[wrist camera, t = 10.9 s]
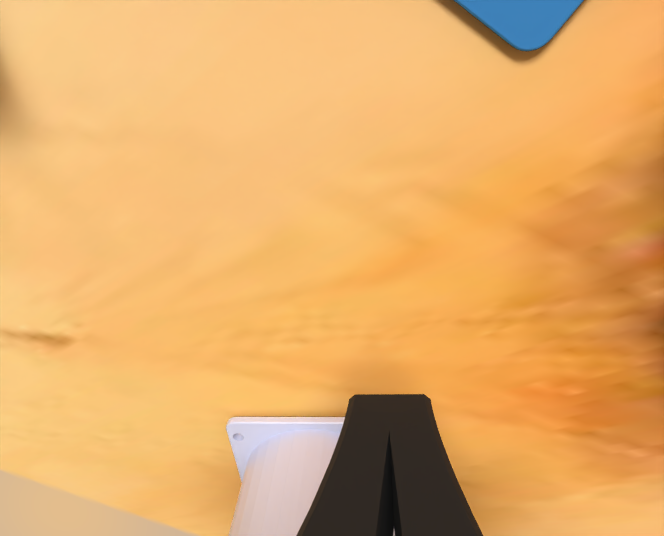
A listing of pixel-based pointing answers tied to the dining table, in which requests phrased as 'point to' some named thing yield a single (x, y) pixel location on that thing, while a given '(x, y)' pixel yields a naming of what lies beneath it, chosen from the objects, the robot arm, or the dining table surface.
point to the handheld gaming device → (522, 19)
